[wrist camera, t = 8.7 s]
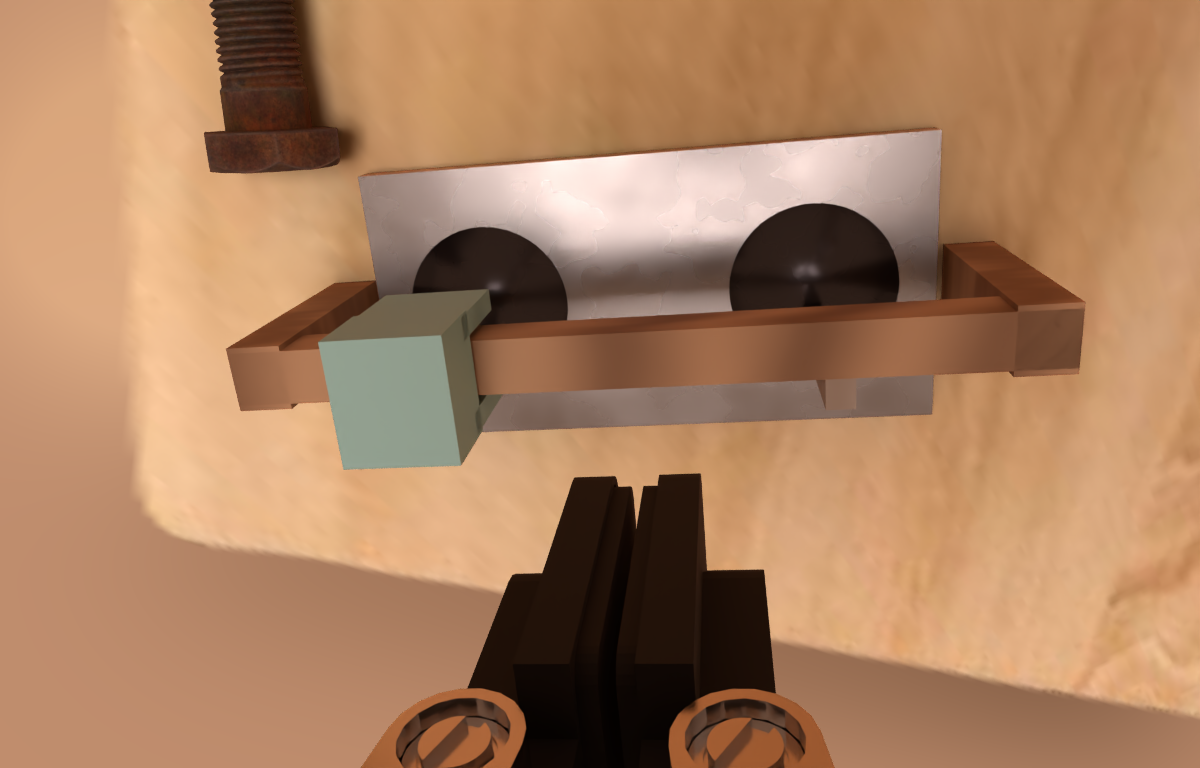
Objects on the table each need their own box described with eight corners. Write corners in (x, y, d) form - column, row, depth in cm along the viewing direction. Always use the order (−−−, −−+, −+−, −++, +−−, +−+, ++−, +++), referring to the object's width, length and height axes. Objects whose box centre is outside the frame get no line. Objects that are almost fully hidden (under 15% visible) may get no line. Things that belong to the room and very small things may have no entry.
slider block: (516, 256, 39) (441, 335, 28) (528, 354, 40) (461, 465, 29) (426, 262, 39) (318, 341, 28) (441, 359, 41) (343, 469, 30)
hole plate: (934, 127, 37) (942, 129, 35) (926, 404, 41) (932, 415, 39) (367, 173, 40) (357, 177, 39) (411, 425, 44) (402, 435, 43)
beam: (993, 241, 38) (1085, 301, 29) (989, 317, 39) (1076, 400, 30) (334, 283, 42) (226, 348, 33) (347, 351, 43) (246, 433, 34)
